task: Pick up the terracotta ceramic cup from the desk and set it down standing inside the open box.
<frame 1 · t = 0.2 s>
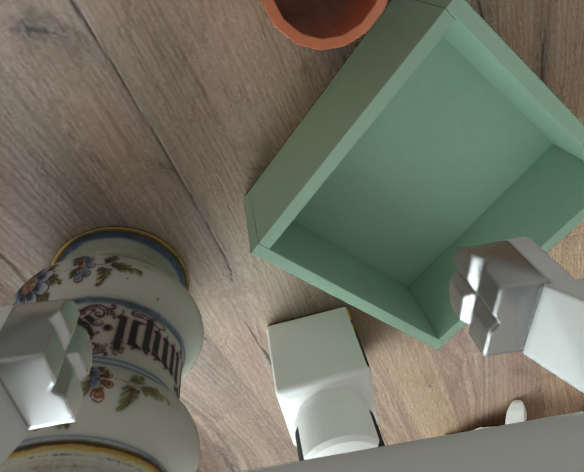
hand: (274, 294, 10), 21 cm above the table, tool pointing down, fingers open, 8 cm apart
open box: (404, 167, 33), on the table
apothecary jar: (122, 280, 35), on the table
white faceted figurine: (499, 425, 53), on the table
medicine bottle: (312, 341, 41), on the table
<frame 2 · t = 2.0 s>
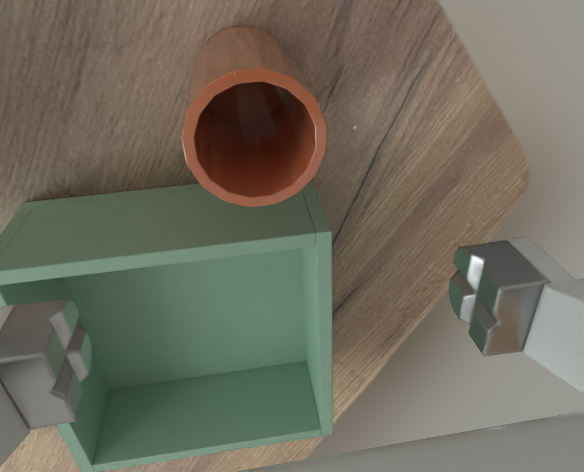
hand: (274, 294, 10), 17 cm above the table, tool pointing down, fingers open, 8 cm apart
open box: (193, 293, 32), on the table
cup: (243, 80, 24), on the table
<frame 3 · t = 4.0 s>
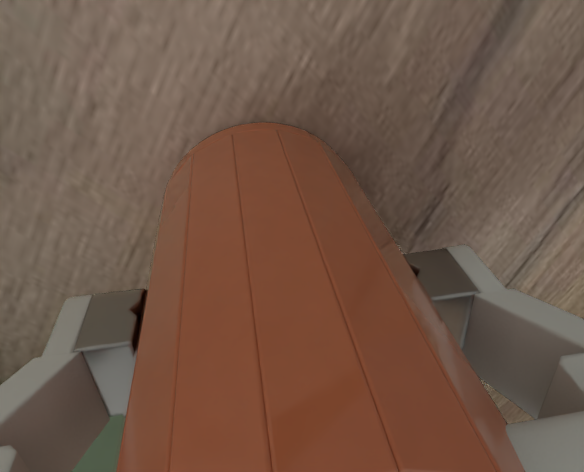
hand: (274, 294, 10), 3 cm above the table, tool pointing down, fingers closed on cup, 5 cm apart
cup: (261, 215, 13), on the table, touching gripper
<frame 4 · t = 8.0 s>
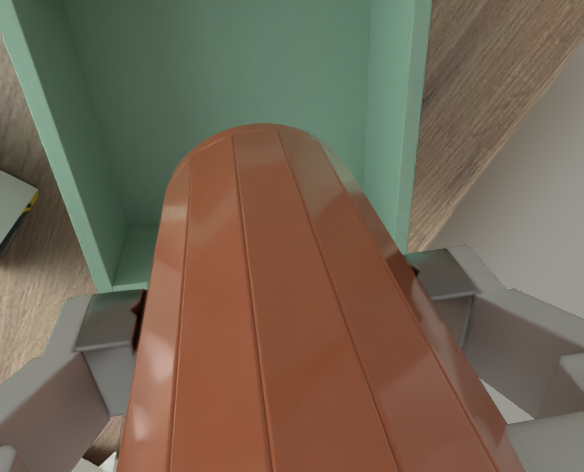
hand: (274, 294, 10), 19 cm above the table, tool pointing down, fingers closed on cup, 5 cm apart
open box: (234, 90, 26), on the table
cup: (261, 215, 13), point 15 cm above the table, touching gripper
white faceted figurine: (94, 465, 43), on the table
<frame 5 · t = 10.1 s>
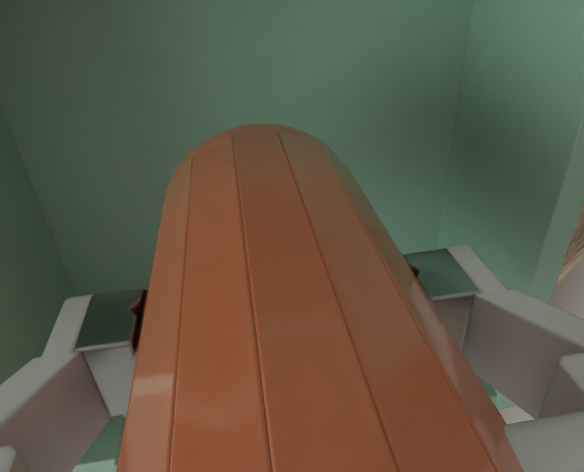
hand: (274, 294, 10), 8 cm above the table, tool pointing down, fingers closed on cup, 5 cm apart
open box: (248, 143, 17), on the table
cup: (261, 216, 13), point 5 cm above the table, touching gripper
when the fingers open (4 cm above the table, at t = 11.8 s): cup stays where it is, resting on open box.
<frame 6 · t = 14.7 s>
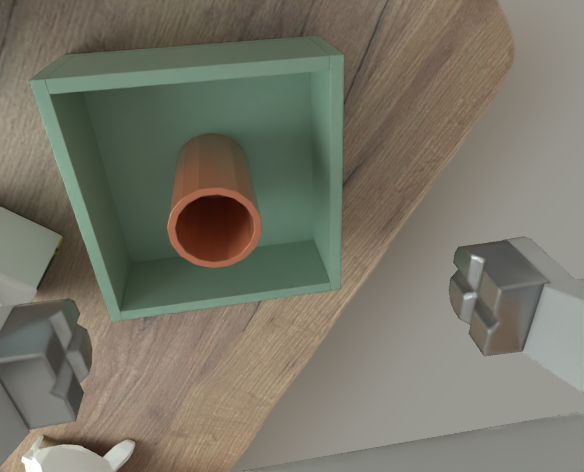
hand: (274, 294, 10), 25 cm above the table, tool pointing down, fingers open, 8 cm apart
open box: (212, 162, 34), on the table
cup: (212, 167, 34), point 1 cm above the table, touching open box
white faceted figurine: (98, 457, 50), on the table
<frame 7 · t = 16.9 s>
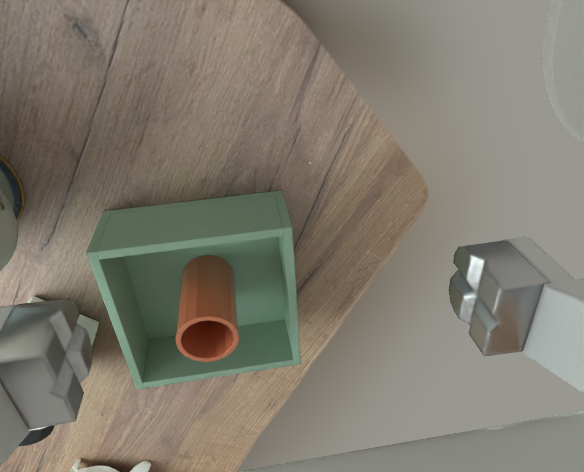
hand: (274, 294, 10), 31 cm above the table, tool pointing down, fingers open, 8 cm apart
open box: (207, 270, 47), on the table
cup: (208, 276, 47), point 1 cm above the table, touching open box
medicine bottle: (53, 328, 49), on the table
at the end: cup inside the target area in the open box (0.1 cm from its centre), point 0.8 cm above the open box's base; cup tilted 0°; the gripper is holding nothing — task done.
